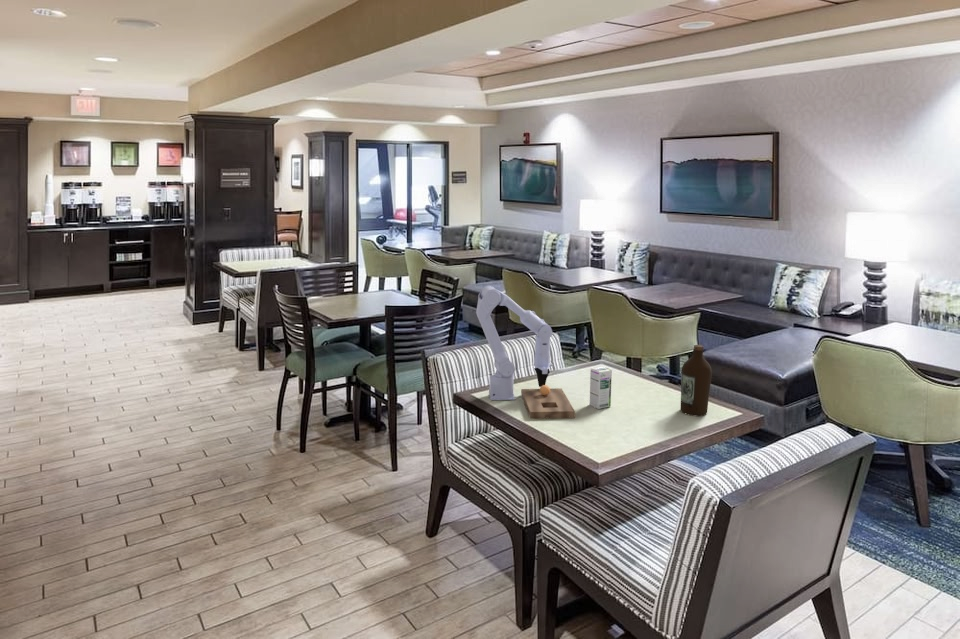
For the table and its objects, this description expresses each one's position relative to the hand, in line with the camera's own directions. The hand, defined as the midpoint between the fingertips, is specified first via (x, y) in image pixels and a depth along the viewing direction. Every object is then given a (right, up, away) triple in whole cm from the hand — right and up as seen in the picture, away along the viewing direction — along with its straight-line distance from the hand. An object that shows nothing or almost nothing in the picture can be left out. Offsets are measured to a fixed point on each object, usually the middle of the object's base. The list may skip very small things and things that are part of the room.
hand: (541, 386), depth 265 cm
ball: (+1, -1, -8) cm, 8 cm away
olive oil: (+54, -8, -17) cm, 57 cm away
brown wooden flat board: (+1, -6, -12) cm, 13 cm away
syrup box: (+21, -6, -11) cm, 25 cm away
